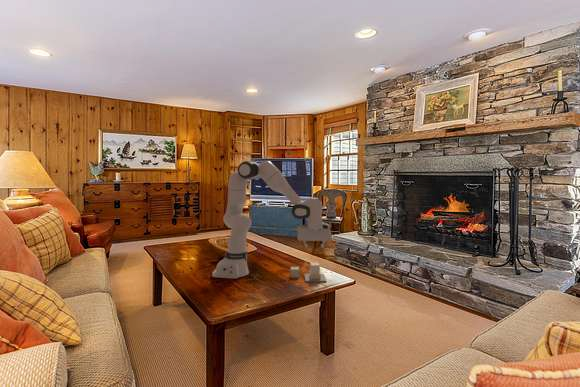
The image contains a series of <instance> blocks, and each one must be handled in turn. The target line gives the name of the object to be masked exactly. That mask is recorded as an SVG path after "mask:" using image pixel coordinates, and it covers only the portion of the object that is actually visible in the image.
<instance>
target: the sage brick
mask: <svg viewBox="0 0 580 387" xmlns="http://www.w3.org/2000/svg"><path fill="white" fill-rule="evenodd" d="M290 278H300V267H299V266H291V267H290Z"/></svg>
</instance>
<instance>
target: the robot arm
mask: <svg viewBox="0 0 580 387" xmlns="http://www.w3.org/2000/svg"><path fill="white" fill-rule="evenodd" d="M259 177H260V178H261V179H262V180H263V181H264V183H265V184H266V185H267V186H268V187H269V188H270V189H271V190H272V191H274V192H276V193H280V194H281V195H283V196H285V198H286V199H287V200H288V201H289V202H290V203H291V204H292V205H293V206H292V208H291V210H290V213H291V215H292V216H293V218H295V219H296V220H304V219H306V220H307V222H306V224H299V225H297V228H296V231H297V241H299V242H301V241H303V244H304V248H305V249H308V247H309V245H308V244H306V242H313V241H314V242H322V244H321V245H320V248H321V249H325V244H326V242H332V240H333V238H332V237H333V236H332V231H331V226H330V223H326V222H323V216H322V215H323V202H322V200H321V199H320V198H318V197H309V198H307V199H305V200H303V199H302V198H301V197H300V195H298V194H297V193H296V192H295V190H294V189H293V188H292V187H291V185H290V184H289V182H288V181H287V179H286V178H285V176H284V174H283V173H282V172H281V170H279V168H278V167H277V166H275V165H274V163H272V162H271V161H269V160H264V161H262V162H261V163H258V162H257V161H253V160H245V161H242V162H241V163H239V164H238V167H237V171H234V172H232V173H230V175H229V178H228V186H227V187H228V188H227V189H228V191H227V205H226V210H225V213H224V215H223V216H222V217H223V218H222V220H223V223H224V225H226V226H227V228H230V230H231V231H230V235H229V238H228V240H227V250H226V251H225V253H224V257H223V259H221V260H220V261H219V262H218V263H217V265H216V268H215V269H214V270H213V271H212V274H211V276H212V277H213V278H221V279H222V278H223V279H238V278H242V277H246V276H248V275H249V274H250V272H249V267H248V261H247V260H248V251H247V236H248V233H249V230H250V228H251V227H252V225H253V224H252V219H251V218H250V216H249V215H247V214H245V212H244V213H243V210H244V207H245V205H246V203H247V184H248V181H251V180H255V179H258V178H259Z"/></svg>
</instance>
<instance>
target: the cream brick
mask: <svg viewBox="0 0 580 387" xmlns="http://www.w3.org/2000/svg"><path fill="white" fill-rule="evenodd" d="M320 266H321V265H320V263H319V262H310V271H311V274H321V270H320V268H321V267H320Z"/></svg>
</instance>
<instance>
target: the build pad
mask: <svg viewBox="0 0 580 387" xmlns="http://www.w3.org/2000/svg"><path fill="white" fill-rule="evenodd" d="M303 276H304V280H305V281H304V282H305V283H327V279H326V276H325V273H320V274H311V270H309V273H304V275H303Z"/></svg>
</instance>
